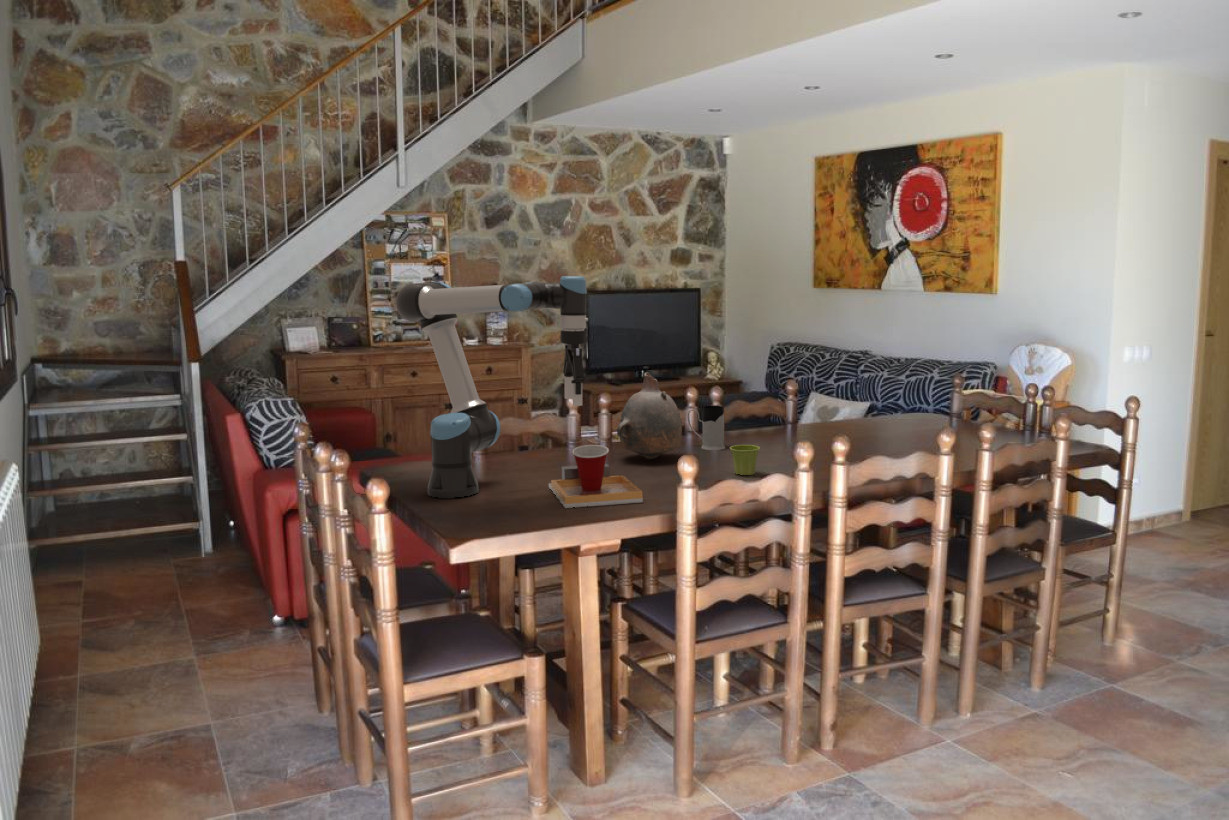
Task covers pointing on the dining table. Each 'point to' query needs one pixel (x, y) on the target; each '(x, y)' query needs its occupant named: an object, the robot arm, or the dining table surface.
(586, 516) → the dining table surface
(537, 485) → the dining table surface
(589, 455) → the plastic cup
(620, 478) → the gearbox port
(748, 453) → the plant pot
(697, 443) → the dining table surface
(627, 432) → the jug
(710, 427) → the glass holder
